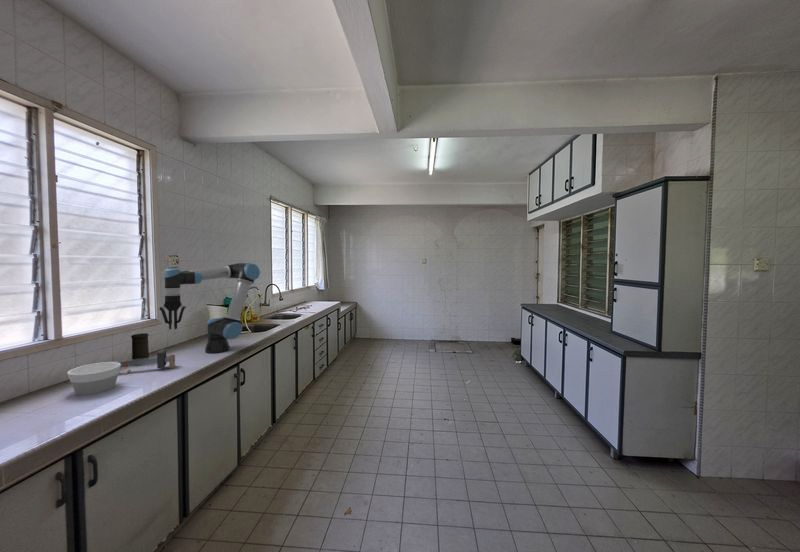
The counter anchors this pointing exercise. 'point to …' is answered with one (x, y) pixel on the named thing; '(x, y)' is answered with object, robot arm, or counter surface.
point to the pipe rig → (146, 362)
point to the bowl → (94, 377)
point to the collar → (161, 358)
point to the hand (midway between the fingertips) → (173, 334)
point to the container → (140, 346)
